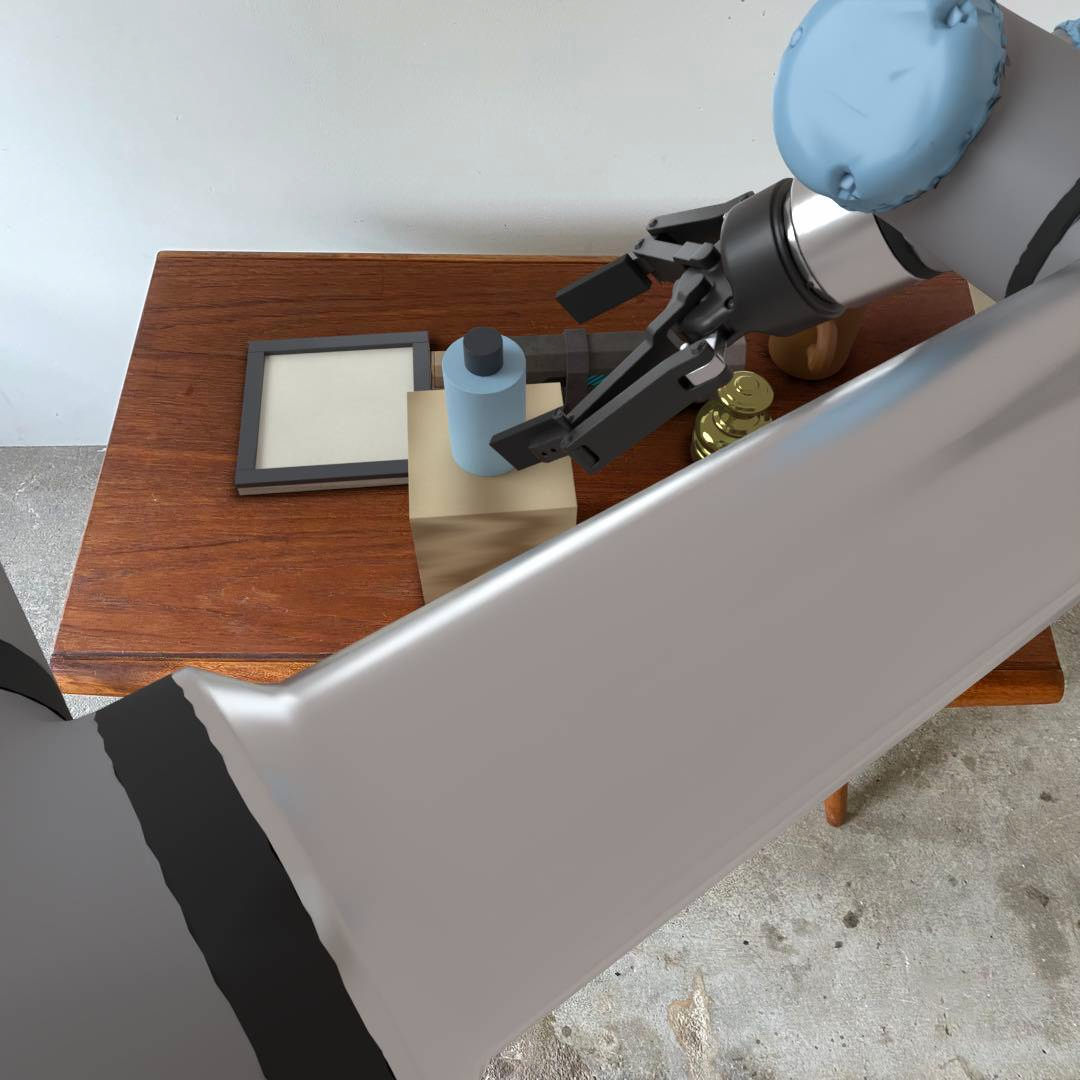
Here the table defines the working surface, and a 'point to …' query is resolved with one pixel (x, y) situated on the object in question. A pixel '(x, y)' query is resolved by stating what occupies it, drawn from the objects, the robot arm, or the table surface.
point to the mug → (818, 346)
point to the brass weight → (732, 414)
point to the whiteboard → (329, 411)
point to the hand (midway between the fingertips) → (538, 377)
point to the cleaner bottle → (483, 397)
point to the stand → (478, 498)
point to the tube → (584, 360)
